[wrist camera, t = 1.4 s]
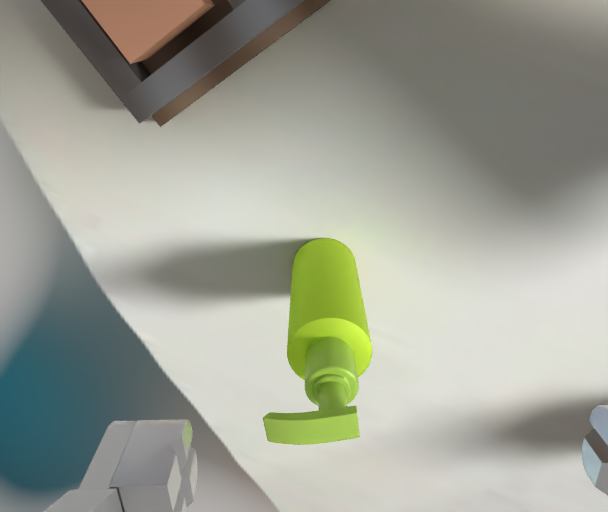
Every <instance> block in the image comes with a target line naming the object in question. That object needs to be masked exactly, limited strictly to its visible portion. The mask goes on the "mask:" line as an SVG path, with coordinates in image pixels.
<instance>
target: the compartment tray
mask: <svg viewBox="0 0 608 512" xmlns="http://www.w3.org/2000/svg"><path fill="white" fill-rule="evenodd" d="M41 1H42V2H43V3H44V5H45V6H46V7H47V8H48V10H49V11H50V12H51V13H52V15H53V16H54V17H55V18H56V20H57V21H58V22H59V23H60V25H61V26H62V27H63V28H64V30H65V31H66V32H67V33H68V35H69V36H70V37H71V38H72V40H73V41H74V42H75V43H76V45H77V46H78V47H79V48H80V50H81V51H82V52H83V53H84V55H85V56H86V57H87V58H88V60H89V61H90V62H91V63H92V65H93V66H94V67H95V68H96V70H97V71H98V72H99V73H100V75H101V76H102V77H103V78H104V80H105V81H106V82H107V83H108V85H109V86H110V87H111V88H112V90H113V91H114V92H115V93H116V95H117V96H118V97H119V98H120V100H121V101H122V102H123V103H124V105H125V106H126V107H127V108H128V110H129V111H130V112H131V113H132V115H133V116H134V117H135V118H136V120H137V121H138V122H139V123H141V122H143V121H144V120H146V119H147V118H149V117H151V116H152V117H153V118H154V119H155V121H156V122H157V123H158V125H159V126H160V127H161V126H162V125H163V124H165V123H166V122H168V121H169V120H170V119H172V118H173V117H174V116H176V115H177V114H178V113H180V112H181V111H182V110H184V109H185V108H186V107H188V106H189V105H190V104H192V103H193V102H194V101H196V100H197V99H199V98H200V97H201V96H203V95H204V94H205V93H207V92H208V91H209V90H211V89H212V88H213V87H215V86H216V85H217V84H219V83H220V82H221V81H223V80H224V79H225V78H227V77H228V76H229V75H231V74H232V73H233V72H235V71H236V70H237V69H239V68H240V67H242V66H243V65H244V64H246V63H247V62H248V61H250V60H251V59H252V58H254V57H255V56H256V55H258V54H259V53H260V52H262V51H263V50H264V49H266V48H267V47H268V46H270V45H271V44H272V43H274V42H275V41H276V40H278V39H279V38H280V37H282V36H283V35H285V34H286V33H287V32H289V31H290V30H291V29H293V28H294V27H295V26H297V25H298V24H299V23H301V22H302V21H303V20H305V19H306V18H307V17H309V16H310V15H311V14H313V13H314V12H315V11H317V10H318V9H319V8H321V7H322V6H323V5H325V4H326V3H328V2H329V1H330V0H211V1H212V2H213V4H214V5H215V6H214V7H212V8H211V9H210V10H209V11H207V12H206V13H205V14H204V15H202V16H201V17H200V18H199V19H197V20H196V21H195V22H194V23H192V24H191V25H190V26H188V27H187V28H186V29H185V30H183V31H182V32H181V33H180V34H178V35H177V36H176V37H175V38H173V39H172V40H171V41H170V42H168V43H167V44H166V45H165V46H163V47H162V48H161V49H160V50H158V51H157V52H156V53H155V54H153V55H152V56H151V57H150V58H148V59H147V60H143V61H139V62H136V63H132V64H130V63H129V61H128V60H127V59H126V57H125V56H124V55H123V54H122V52H121V51H120V50H119V48H118V47H117V46H116V44H115V43H114V42H113V41H112V39H111V38H110V37H109V35H108V34H107V33H106V31H105V30H104V29H103V28H102V26H101V25H100V24H99V22H98V21H97V20H96V18H95V17H94V16H93V15H92V13H91V12H90V11H89V9H88V8H87V7H86V5H85V4H84V3H83V2H82V0H41Z"/></svg>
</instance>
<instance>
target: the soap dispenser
mask: <svg viewBox="0 0 608 512" xmlns="http://www.w3.org/2000/svg"><path fill="white" fill-rule="evenodd" d="M287 357H288V361H289V364H290V366H291V368H292V369H293V371H294V372H295V373H296V374H297V375H298V376H299V377H300V378H302V379H303V380H305V391H306V394H307V396H308V398H309V399H310V400H311V401H312V402H313V403H314V404H316V405H318V406H319V411H312V412H304V413H269V414H267V415H266V416H265V417H263V421H264V426H265V430H266V435H267V439H268V441H269V442H274V443H282V444H299V445H301V444H319V443H327V442H334V441H341V440H347V439H353V438H358V437H360V435H359V426H358V417H357V408H356V406H350V407H347V404H348V403H350V402H351V401H352V400H353V399H354V398H355V397H356V395H357V392H358V377H359V376H360V375H361V374H362V373H363V372H364V371H365V370H366V369H367V367H368V365H369V363H370V361H371V357H372V345H371V340H370V335H369V330H368V324H367V319H366V314H365V309H364V304H363V299H362V293H361V288H360V283H359V278H358V273H357V267H356V262H355V258H354V256H353V254H352V252H351V251H350V249H349V248H348V247H347V246H346V245H344V244H343V243H341V242H339V241H337V240H334V239H329V238H320V239H315V240H312V241H310V242H308V243H306V244H305V245H303V246H302V247H301V248H300V249H299V250H298V252H297V253H296V255H295V257H294V260H293V267H292V283H291V298H290V314H289V329H288V345H287Z"/></svg>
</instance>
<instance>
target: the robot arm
mask: <svg viewBox="0 0 608 512" xmlns="http://www.w3.org/2000/svg"><path fill="white" fill-rule="evenodd" d="M589 421H590V423H591V424H592V426H593V428H594V429H593V430H592V431H591V432H590V433H589V434H587V435H586V436H585V437H584V440H583V445H582V449H581V452H582V460H583V465H584V468H585V470H586V473H587V475H588V477H589V478H590V480H591V481H592V483H593V484H594V486H595V487H596V488H598V489H599V490H601V491H602V492H604V493H605V494H607V495H608V405H597V406H596V407H595V408H594V409H593V410H592V412H591V415H590V419H589ZM192 435H193V433H192V429H191V423H190V421H188V420H139V421H114V422H112V424H110V425H109V426H108V428H107V430H106V432H105V434H104V436H103V439H102V441H101V443H100V445H99V447H98V449H97V451H96V453H95V455H94V457H93V459H92V461H91V464H90V466H89V468H88V470H87V472H86V474H85V476H84V478H83V480H82V482H81V485H80V487H79V489H78V490H70V491H68V492H67V493H66V494H65V495H63V496H62V497H61V498H60V499H59V500H57V501H56V502H55V503H53V504H52V505H51V506H50V507H48V508H47V509H46V510H45V511H43V512H187V507H188V506H189V505H190V504H191V503H192V502H193V500H194V495H195V491H196V483H197V457H196V451H195V450H194V449H193V448H192V447H190V444H191V440H192Z"/></svg>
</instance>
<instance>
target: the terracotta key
mask: <svg viewBox="0 0 608 512" xmlns="http://www.w3.org/2000/svg"><path fill="white" fill-rule="evenodd" d="M82 2H83V3H84V4H85V5H86V7H87V8H88V9H89V11H90V12H91V13H92V15H93V16H94V17H95V18H96V20H97V21H98V22H99V24H100V25H101V26H102V28H103V29H104V30H105V31H106V33H107V34H108V35H109V37H110V38H111V39H112V41H113V42H114V43H115V44H116V46H117V47H118V48H119V50H120V51H121V52H122V54H123V55H124V56H125V57H126V59H127V60H128V61H129V63H130V64H132V63H136V62H139V61H143V60H147V59H148V58H150V57H151V56H152V55H153V54H155V53H156V52H157V51H158V50H160V49H161V48H162V47H163V46H165V45H166V44H167V43H168V42H170V41H171V40H172V39H173V38H175V37H176V36H177V35H178V34H180V33H181V32H182V31H183V30H185V29H186V28H187V27H188V26H190V25H191V24H192V23H194V22H195V21H196V20H197V19H199V18H200V17H201V16H202V15H204V14H205V13H206V12H207V11H209V10H210V9H211V8H212V7H214V6H215V5H214V4H213V2H212V1H211V0H82Z"/></svg>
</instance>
